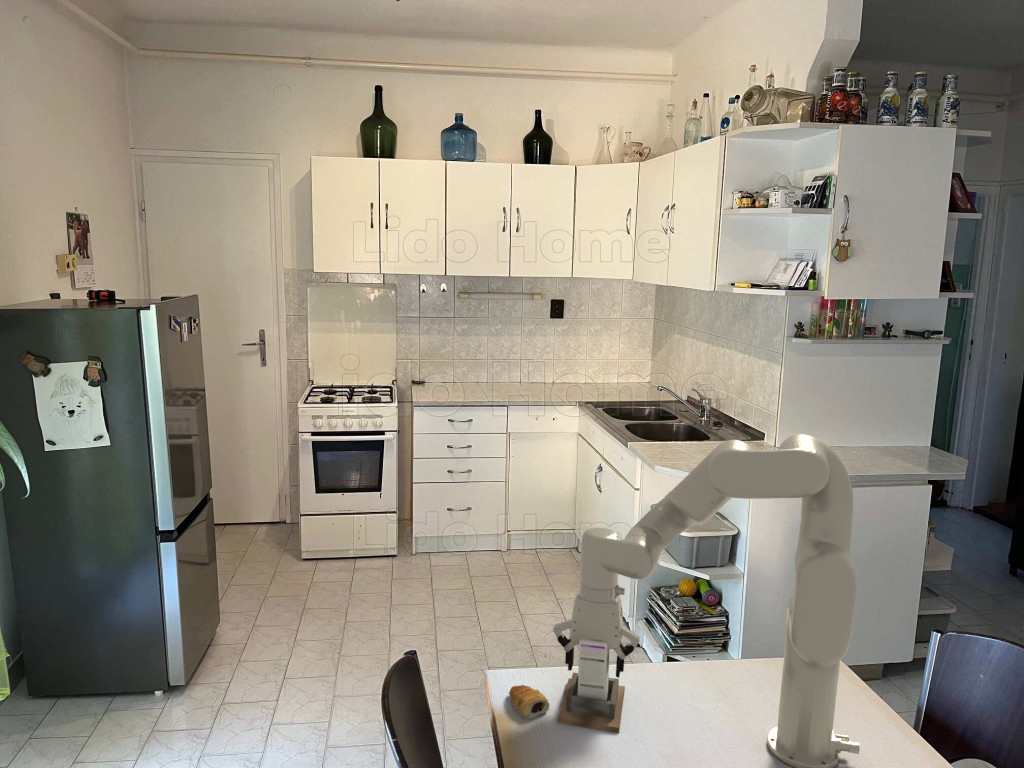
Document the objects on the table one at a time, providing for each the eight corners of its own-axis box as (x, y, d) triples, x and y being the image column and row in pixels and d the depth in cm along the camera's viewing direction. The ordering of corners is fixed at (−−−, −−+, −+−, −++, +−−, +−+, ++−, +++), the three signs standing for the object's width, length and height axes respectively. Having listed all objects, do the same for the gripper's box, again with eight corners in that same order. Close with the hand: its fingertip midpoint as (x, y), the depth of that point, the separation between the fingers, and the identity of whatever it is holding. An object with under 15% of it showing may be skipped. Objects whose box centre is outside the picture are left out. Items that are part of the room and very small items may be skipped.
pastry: (500, 698, 156) (501, 681, 155) (528, 690, 159) (529, 673, 159) (524, 722, 148) (525, 704, 148) (553, 713, 152) (554, 695, 151)
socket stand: (624, 690, 160) (625, 673, 159) (619, 732, 145) (620, 713, 145) (568, 682, 162) (569, 665, 162) (557, 722, 148) (558, 704, 147)
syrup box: (605, 711, 150) (609, 643, 148) (575, 707, 151) (579, 639, 149) (608, 696, 156) (611, 630, 153) (579, 692, 157) (582, 626, 155)
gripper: (643, 588, 152) (638, 667, 154) (558, 578, 155) (554, 655, 158) (641, 604, 145) (636, 686, 147) (552, 593, 148) (548, 674, 151)
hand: (594, 670), depth 153 cm, fingers open, 9 cm apart
